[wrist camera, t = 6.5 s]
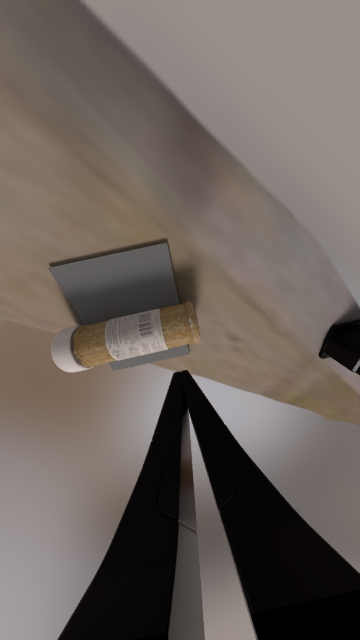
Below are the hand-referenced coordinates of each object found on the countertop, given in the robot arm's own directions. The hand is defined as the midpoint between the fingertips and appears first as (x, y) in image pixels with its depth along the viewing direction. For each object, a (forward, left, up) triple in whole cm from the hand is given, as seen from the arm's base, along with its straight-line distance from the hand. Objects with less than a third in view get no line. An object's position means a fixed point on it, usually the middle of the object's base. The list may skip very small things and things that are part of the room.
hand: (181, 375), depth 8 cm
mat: (+4, 0, -9) cm, 10 cm away
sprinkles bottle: (-2, +1, -7) cm, 7 cm away
